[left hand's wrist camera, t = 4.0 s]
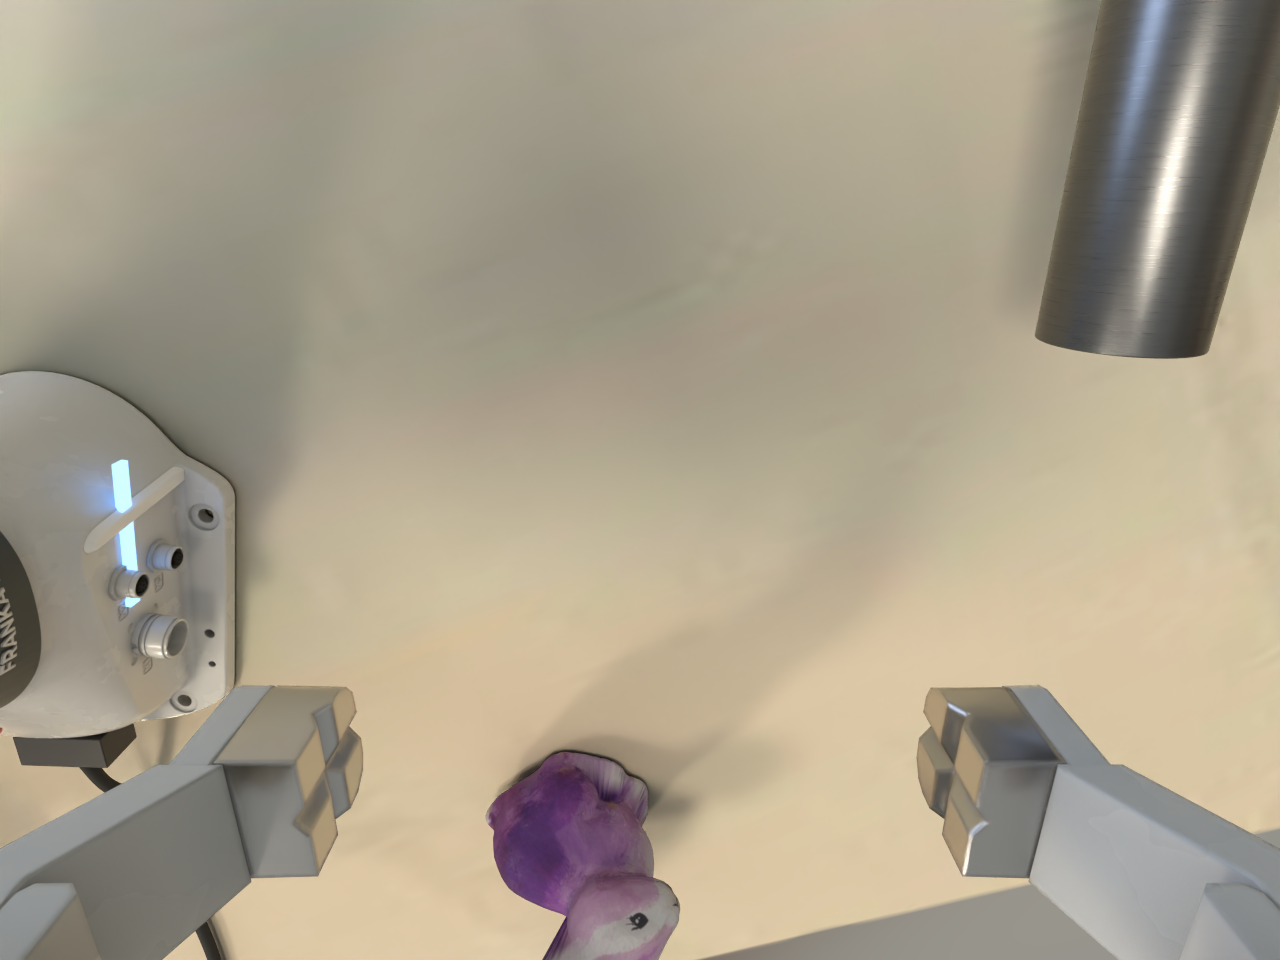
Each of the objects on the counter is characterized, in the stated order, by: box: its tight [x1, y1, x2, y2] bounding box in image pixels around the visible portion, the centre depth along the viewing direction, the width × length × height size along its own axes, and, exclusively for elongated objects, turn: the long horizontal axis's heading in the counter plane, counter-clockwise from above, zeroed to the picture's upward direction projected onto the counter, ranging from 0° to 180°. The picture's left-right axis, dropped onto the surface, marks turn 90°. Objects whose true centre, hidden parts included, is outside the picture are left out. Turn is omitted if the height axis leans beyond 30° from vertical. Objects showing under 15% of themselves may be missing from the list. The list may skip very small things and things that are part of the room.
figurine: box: [486, 752, 680, 960], centre depth 43 cm, size 9×10×15 cm
